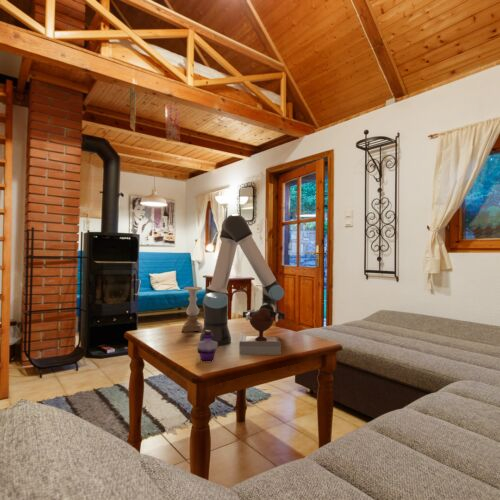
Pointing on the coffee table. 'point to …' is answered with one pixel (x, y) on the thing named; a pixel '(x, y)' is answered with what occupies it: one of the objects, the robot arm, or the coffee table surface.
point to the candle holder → (192, 311)
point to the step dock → (259, 345)
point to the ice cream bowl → (261, 322)
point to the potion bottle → (207, 346)
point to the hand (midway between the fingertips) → (261, 318)
